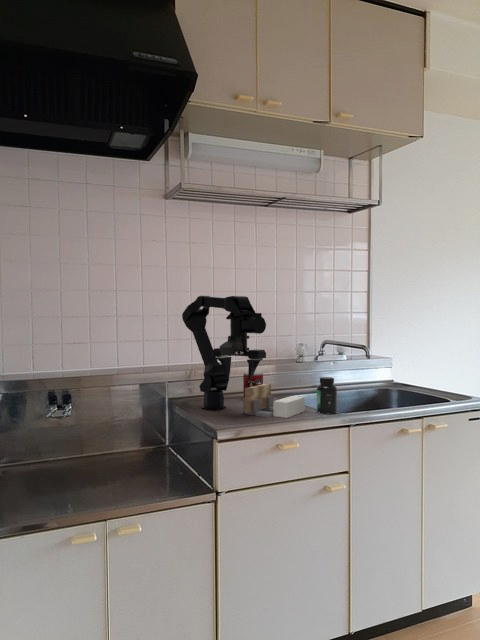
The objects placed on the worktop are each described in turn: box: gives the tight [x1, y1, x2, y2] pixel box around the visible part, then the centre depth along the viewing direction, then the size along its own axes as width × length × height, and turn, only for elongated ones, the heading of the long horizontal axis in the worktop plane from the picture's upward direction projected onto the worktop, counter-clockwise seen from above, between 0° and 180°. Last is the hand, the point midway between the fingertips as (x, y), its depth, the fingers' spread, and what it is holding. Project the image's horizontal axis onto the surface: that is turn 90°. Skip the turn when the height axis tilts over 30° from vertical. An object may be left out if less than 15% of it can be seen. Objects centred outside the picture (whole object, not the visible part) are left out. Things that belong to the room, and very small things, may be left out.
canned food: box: [242, 370, 264, 399], centre depth 197 cm, size 8×8×11 cm
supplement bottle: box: [316, 376, 338, 414], centre depth 173 cm, size 7×7×12 cm
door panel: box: [245, 383, 272, 413], centre depth 173 cm, size 14×2×8 cm, turn 146°
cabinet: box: [242, 395, 306, 419], centre depth 172 cm, size 15×16×5 cm
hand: (238, 378), depth 170 cm, fingers open, 9 cm apart
